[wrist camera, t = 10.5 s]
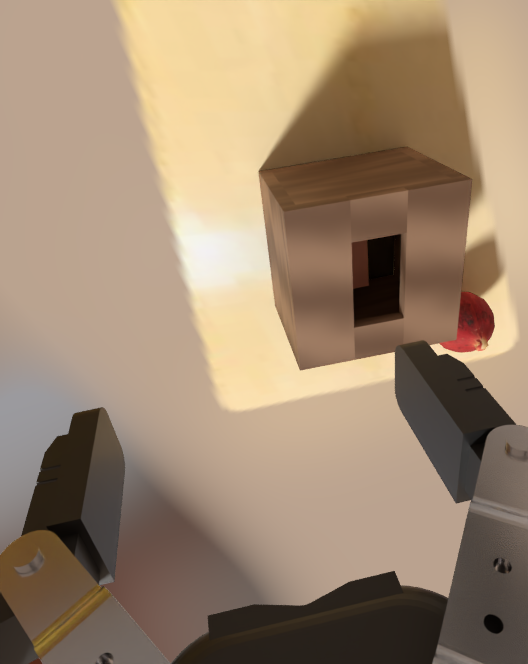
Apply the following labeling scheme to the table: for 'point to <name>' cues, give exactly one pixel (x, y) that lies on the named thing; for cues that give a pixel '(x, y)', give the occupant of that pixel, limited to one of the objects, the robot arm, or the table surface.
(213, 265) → the table surface
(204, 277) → the table surface
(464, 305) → the red pomegranate
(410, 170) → the box
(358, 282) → the tall salmon pink box
